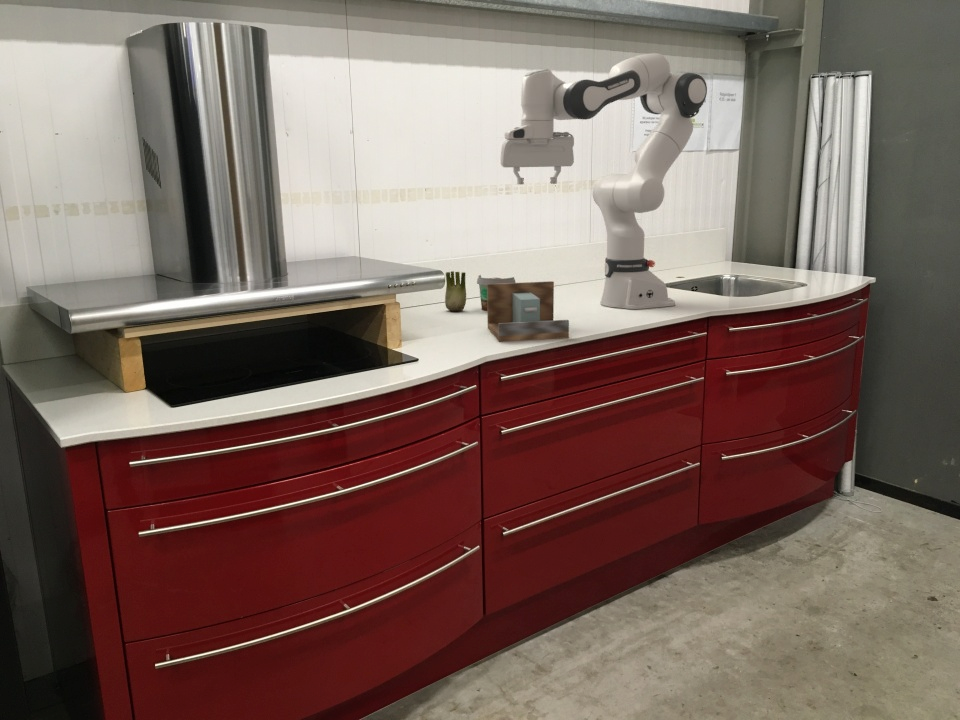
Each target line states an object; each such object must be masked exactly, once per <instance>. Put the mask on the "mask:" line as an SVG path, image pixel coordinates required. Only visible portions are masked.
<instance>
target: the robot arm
mask: <svg viewBox="0 0 960 720" xmlns="http://www.w3.org/2000/svg"><path fill="white" fill-rule="evenodd" d="M707 86H708V85H707V82H706V80H705V78H704V77H703V76H702V75H700V74H698V73H694V72H686V73H674V74H672V73H671V66H670V63H669V60H668V58H666V57H665V56H664V55H663V54H661V53H658V52H657V53H656V52H653V53H644V54H640V55H639V54H638V55H635V56H632V57H629V58H627V59H624V60H621V61H620V62H618V63H616V64H615V65H613V66H612V67H611V68H610V70H609V74H608V78H606V79H603V80H600V81H596V80H592V79H581V80H578V81H577V80H576V81H571V82H566V81H563V80H562V79H560V78H558V77H557V76H556V75H555V74H554V73H553V71H552V70H551V69H548V68H545V69H540V70H532V71H529V72H527V73H526V74H525V75H524V76H523V79H522V83H521V94H520V95H521V96H520V97H521V98H520V101H521V102H520V103H521V104H520V105H521V109H522V110H521V111H522V115H521V119H520V120H521V121H520V123H521V124H520V126H518V127H515V128H513V129H509V130H507V131H505V132H504V138H505V139H504V140H505V141H504V142H503V143H502V146H501V151H500V165H501V167H502V168H512V169H513V173H514V175H515V177H516V178H517V179H516V181H517V185H524V184H525V183H524V182H525V181H524V180H525V179H524V177H521V175H520V173H519V172H520V171H521V168H543V167H544V168H545V167H547V168H549V167H551V168H553V170H554V174H553V176H550V177H549V179H550V184H552V185H554V184H557V183H558V177H559V176H560V173H561V172H562V167H572V166H573V165H574V163H575V161H574V160H575V158H574V157H575V156H574V149H573V148H574V145H575V138H574V135H572V134H571V133H570V132H568V131H563V132H560V131H555V130H554V124H555V122H554V120H556V121H557V120H558V121H565V120H567V121H569V120H570V121H571V120H590V119H592V118H594V117H595V116H596V115H598V114H599V112H601V111H602V110H603V108H605V107H606V106H607V105H610V104H612V103H614V102H616V101H626V100H627V101H628V100H632V99H636V98H640V103H641V106H642V107H643V109H644V110H645V112H647V113H649V114H654V115H660V117H659V119H658V122H657V124H656V126H655V127H653V129H652V130H651V131H650V132H649V133H648V135H647V137H645V139H644V140H643V141H642V143H641V144H640V145H639V147H638V148H637V149H636V151H635V153H634V162H635V166H634V168H633V169H632V171H630V172H629V173H611V174H607V175H604V176H601V177H599V178H598V179H597V180H596V181H595V183H594V184H593V187H592V193H591V194H592V199H593V201H594V203H595V204H596V205H597V206H598V208H599V210H600V211H601V215H602V217H603V220H604V221H603V222H604V226H605V229H606V257H605V261H604V276H605V279H604V286H603V287H604V288H603V292H602V296H601V298H600V299H601V300H600V305H602V306H605V307H611V308H618V309H619V308H620V309H627V310H628V309H629V310H642V309H652V308H662V307H665V308H666V307H672V306H673V307H674V306H676V302H675V300H674V299H673V298H671V297H669V296H668V295H669V294H668V293H669V292H668V288H667V285H666V283H665V282H664V281H662V280H661V279H660V278H659V277H658V276H657V275H655V274H654V273H653V272H652V271H651V270H649V269H650V268H654V267H655V265H656V262H655V260H651V259H649V260H648V259H647V258H645V253H644V252H645V232H644V229H643V228H642V227H641V226H640V225H639V223H638V221H637V219H636V213H637V214H643V213H648V212H653V211H655V210H657V209H659V208H660V206H661V205H662V203H663V201H664V198H665V187H664V184H663V181H664V180H665V176H666V174H667V172H668V171H669V170H670V169H671V167H672V166H673V164H674V162H675V161H676V160H677V159H678V157H679V156H680V154H681V153H682V152H683V150H684V149H685V147H686V146H687V143H688V141H689V140H690V138H691V136H692V134H693V131H694V124H693V121H692V119H693V118H694V117H695V116H697V115H698V114H699V113H700V110H701V108H702V106H703V105H704V103H705V101H706V98H707V94H708V87H707ZM691 118H692V119H691Z"/></svg>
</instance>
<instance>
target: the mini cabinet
mask: <svg viewBox="0 0 960 720" xmlns="http://www.w3.org/2000/svg"><path fill="white" fill-rule="evenodd" d="M512 307H513V322H532V321H540V299H539V298H538V297H536V296H535V295H534V294H532V293H531V292H529V293H512Z"/></svg>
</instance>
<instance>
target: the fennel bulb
mask: <svg viewBox="0 0 960 720" xmlns="http://www.w3.org/2000/svg"><path fill="white" fill-rule="evenodd" d="M460 274H461V277H460ZM445 279H446V280H445V281H446V288H445V295H444V296H445V297H444V300H445V301H444V303H445V307H446V309H447V310H448V311H451V312H461V311H464V309H465V306H466V304H467V288H466V272H465V271H462V272H461V273H460V271H454V270H452V271H448V272H447V271H446V272H445Z"/></svg>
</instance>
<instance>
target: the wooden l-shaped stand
mask: <svg viewBox="0 0 960 720" xmlns="http://www.w3.org/2000/svg"><path fill="white" fill-rule="evenodd" d="M554 289H555V282H554V281H530V282H516V283H500V284H487V311H486V312H487V330H488V331H489V332H490V333H491V334H492V335H493V336H494V337H495V338H496V340H497V341H498V342H499V343H500V342H515V341H534V340H554V339H569V336H570V333H569V332H570V321H569V319H557V320H556V319H555V320H554V303H555V301H554V298H555V297H554V295H555V293H554V292H555V291H554ZM529 292H531V293H532V294H534V295H535V296H536V297H538V298H539V299H540V321H532V322H513V307H512V293H529Z"/></svg>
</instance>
